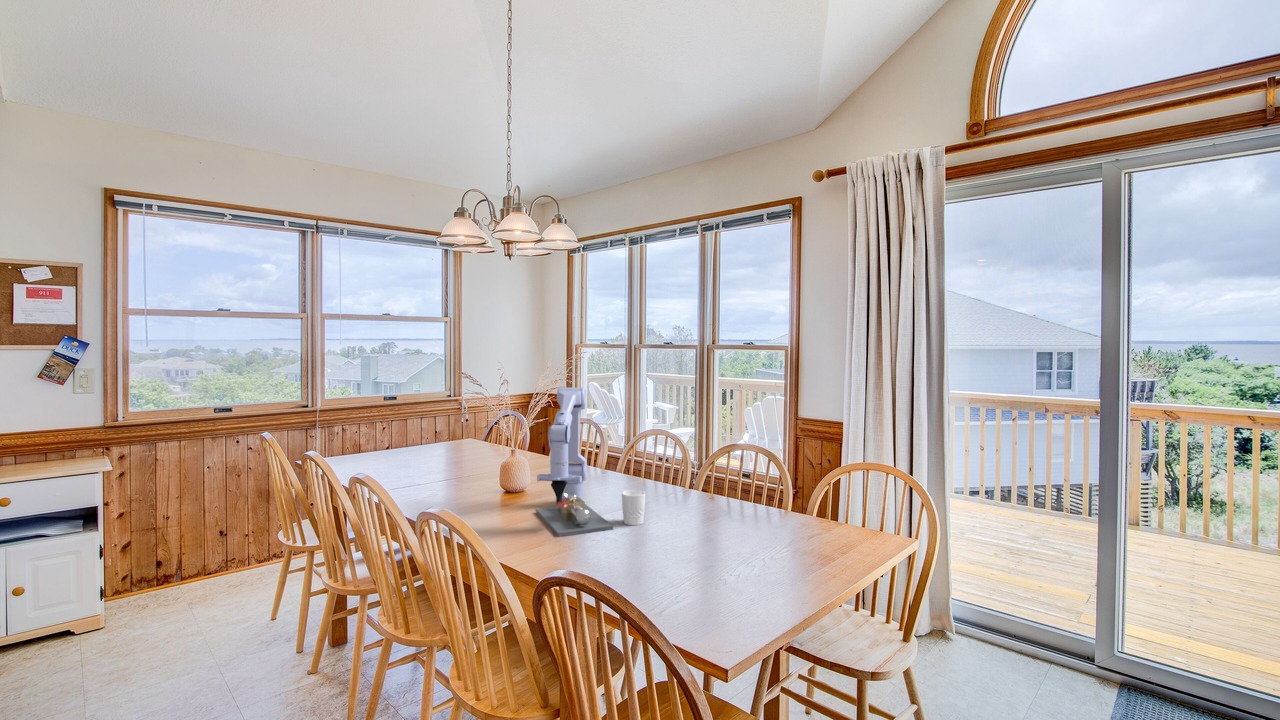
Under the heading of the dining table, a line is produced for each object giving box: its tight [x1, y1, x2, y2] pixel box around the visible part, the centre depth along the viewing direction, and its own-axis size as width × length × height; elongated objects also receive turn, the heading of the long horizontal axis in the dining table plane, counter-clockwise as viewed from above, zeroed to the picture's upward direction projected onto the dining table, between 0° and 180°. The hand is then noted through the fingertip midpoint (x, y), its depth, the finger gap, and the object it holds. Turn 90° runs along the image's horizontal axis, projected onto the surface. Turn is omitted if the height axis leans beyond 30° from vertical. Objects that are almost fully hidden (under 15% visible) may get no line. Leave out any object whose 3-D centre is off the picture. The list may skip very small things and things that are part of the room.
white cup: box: [621, 489, 646, 526], centre depth 193 cm, size 8×8×10 cm
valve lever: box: [557, 494, 577, 508], centre depth 190 cm, size 12×3×2 cm, turn 166°
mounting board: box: [535, 503, 614, 538], centre depth 195 cm, size 28×18×1 cm, turn 24°
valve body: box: [555, 492, 592, 526], centre depth 194 cm, size 25×6×6 cm, turn 24°
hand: (559, 503), depth 187 cm, fingers closed, pressing on valve lever
